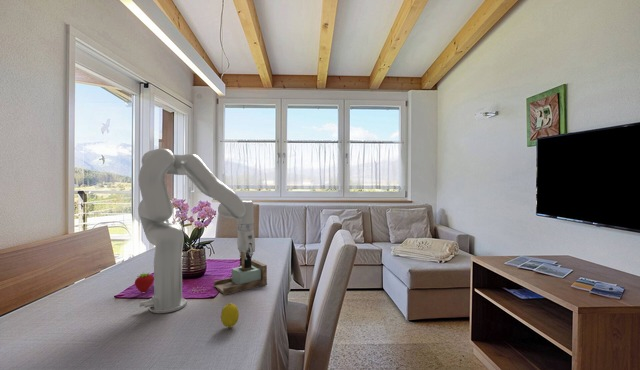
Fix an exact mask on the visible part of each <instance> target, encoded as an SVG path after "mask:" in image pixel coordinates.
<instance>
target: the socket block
mask: <svg viewBox="0 0 640 370" xmlns="http://www.w3.org/2000/svg"><path fill="white" fill-rule="evenodd" d="M231 277H232V282H234V283H235V284H237V285H239V284H243V283H248V282H252V281H256V280H261V269H259V268H257V267H255V266H253V265H251V267H250V270H248V271H242V266H237V267H232V268H231Z"/></svg>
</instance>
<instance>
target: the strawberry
mask: <svg viewBox="0 0 640 370" xmlns="http://www.w3.org/2000/svg"><path fill="white" fill-rule="evenodd" d="M136 277H137V278H136V279H135V280H134V285H135V288H136V289H137V290H138V291H140V292H141V293H142V292H146V293H147V291H148V290H149V289H150V288H151V287H152V285H154V275H152V274H151V273H150V272H147V273H140V275H137V276H136Z"/></svg>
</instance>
